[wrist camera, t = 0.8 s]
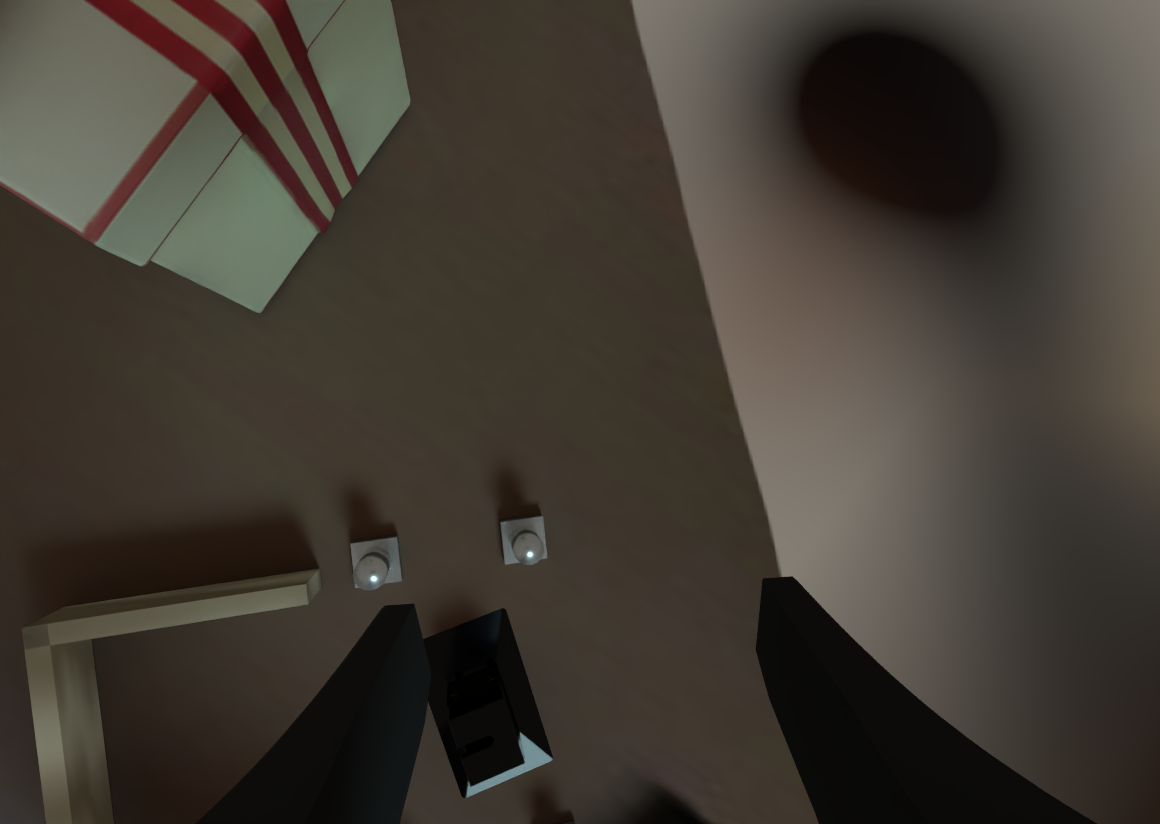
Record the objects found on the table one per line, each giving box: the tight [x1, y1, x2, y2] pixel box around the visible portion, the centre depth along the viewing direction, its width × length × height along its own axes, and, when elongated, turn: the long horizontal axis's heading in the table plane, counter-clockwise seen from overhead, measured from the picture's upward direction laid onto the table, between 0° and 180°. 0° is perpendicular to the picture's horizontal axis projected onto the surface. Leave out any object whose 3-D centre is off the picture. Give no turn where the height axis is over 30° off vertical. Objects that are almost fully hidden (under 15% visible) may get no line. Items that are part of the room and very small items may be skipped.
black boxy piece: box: [423, 608, 553, 798], centre depth 33 cm, size 12×7×5 cm, turn 18°
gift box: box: [0, 0, 410, 313], centre depth 23 cm, size 17×18×17 cm
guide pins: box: [350, 515, 575, 824], centre depth 33 cm, size 20×10×3 cm, turn 6°
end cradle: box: [22, 569, 322, 824], centre depth 30 cm, size 18×12×3 cm, turn 6°
